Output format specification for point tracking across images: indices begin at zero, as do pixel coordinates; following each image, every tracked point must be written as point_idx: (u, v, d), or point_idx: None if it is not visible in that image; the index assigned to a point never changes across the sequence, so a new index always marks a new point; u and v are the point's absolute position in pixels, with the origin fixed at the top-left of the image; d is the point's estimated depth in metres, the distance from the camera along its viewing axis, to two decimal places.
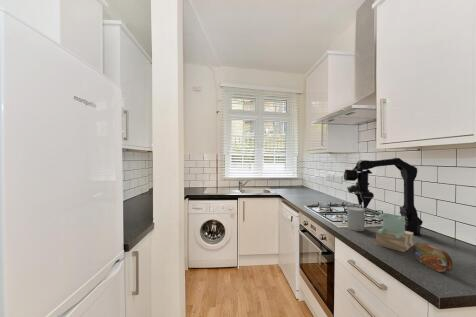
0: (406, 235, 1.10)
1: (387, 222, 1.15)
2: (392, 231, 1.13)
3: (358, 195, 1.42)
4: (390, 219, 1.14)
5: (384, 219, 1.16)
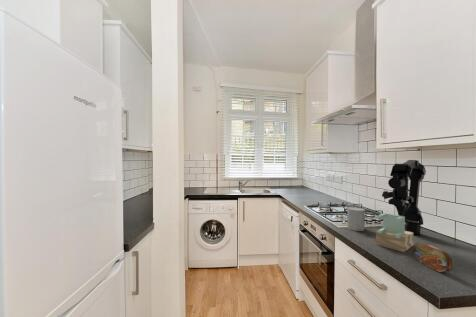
0: (406, 235, 1.10)
1: (387, 222, 1.15)
2: (392, 231, 1.13)
3: None
4: (390, 219, 1.14)
5: (384, 219, 1.16)
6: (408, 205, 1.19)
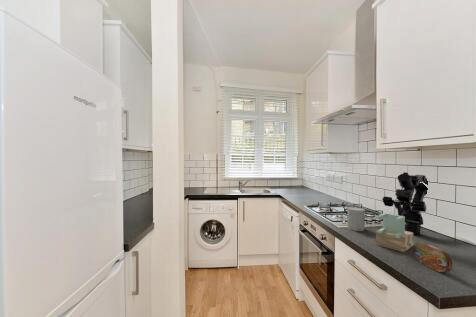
0: (406, 235, 1.10)
1: (387, 222, 1.15)
2: (392, 231, 1.13)
3: (400, 206, 1.21)
4: (390, 219, 1.14)
5: (384, 219, 1.16)
6: None
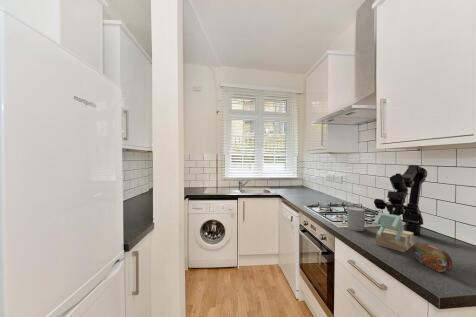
0: (406, 235, 1.10)
1: (384, 221, 1.13)
2: (391, 228, 1.12)
3: (392, 209, 1.14)
4: (386, 219, 1.11)
5: None
6: None
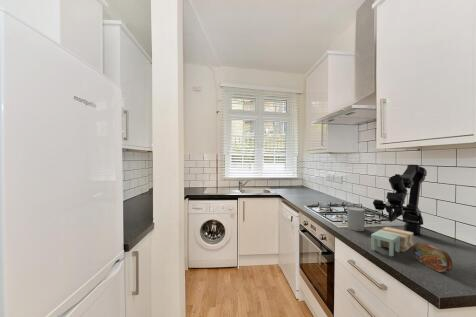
0: (406, 235, 1.10)
1: None
2: None
3: (391, 210, 1.13)
4: None
5: None
6: None
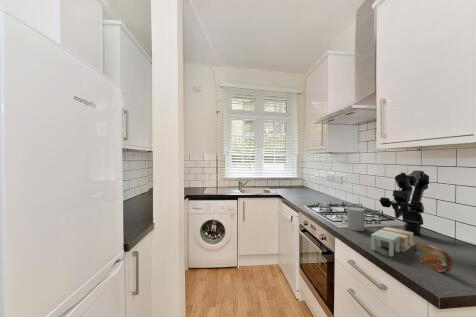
0: (406, 235, 1.10)
1: None
2: None
3: (397, 207, 1.19)
4: None
5: None
6: None
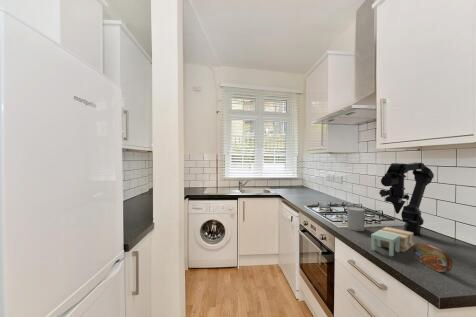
0: (406, 235, 1.10)
1: None
2: None
3: None
4: None
5: None
6: (403, 203, 1.25)
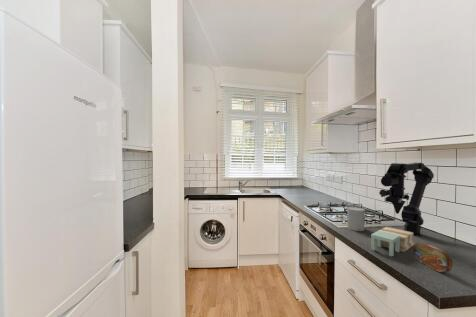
0: (406, 235, 1.10)
1: None
2: None
3: None
4: None
5: None
6: (403, 203, 1.25)
